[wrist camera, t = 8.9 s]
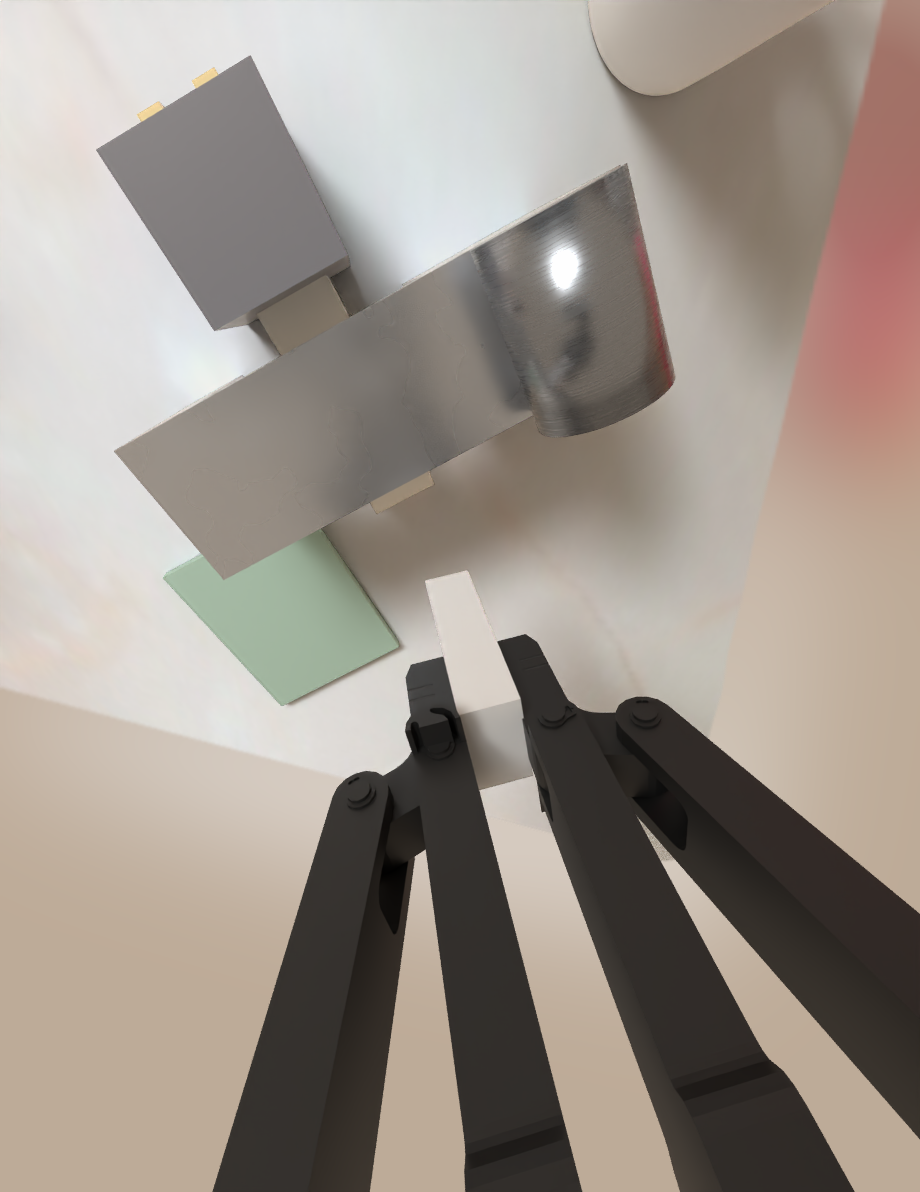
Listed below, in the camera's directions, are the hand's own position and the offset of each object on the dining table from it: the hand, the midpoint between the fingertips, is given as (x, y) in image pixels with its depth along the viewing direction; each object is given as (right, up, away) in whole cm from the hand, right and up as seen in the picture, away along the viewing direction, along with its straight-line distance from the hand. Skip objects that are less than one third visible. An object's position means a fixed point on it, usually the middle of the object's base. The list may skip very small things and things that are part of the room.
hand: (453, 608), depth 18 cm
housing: (-3, +11, +6) cm, 13 cm away
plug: (-6, +12, +5) cm, 14 cm away
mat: (-9, 0, +11) cm, 14 cm away
